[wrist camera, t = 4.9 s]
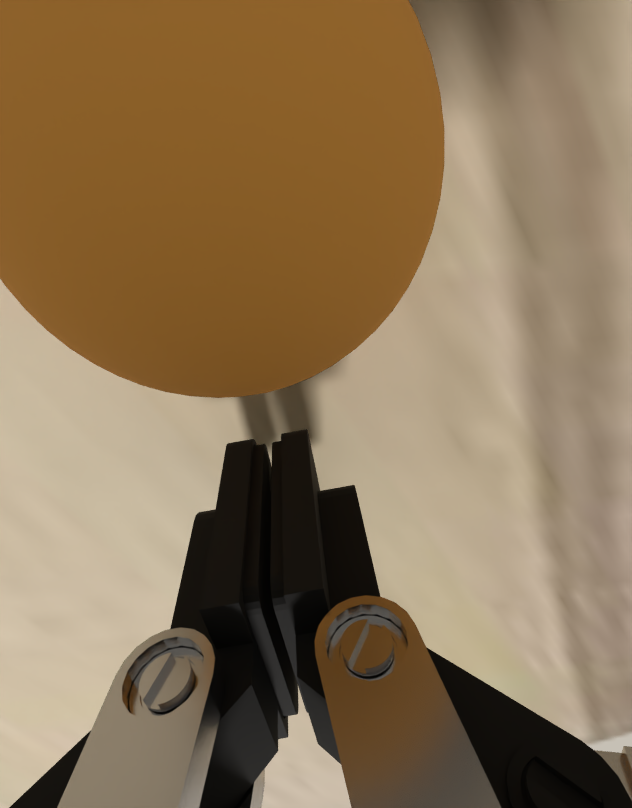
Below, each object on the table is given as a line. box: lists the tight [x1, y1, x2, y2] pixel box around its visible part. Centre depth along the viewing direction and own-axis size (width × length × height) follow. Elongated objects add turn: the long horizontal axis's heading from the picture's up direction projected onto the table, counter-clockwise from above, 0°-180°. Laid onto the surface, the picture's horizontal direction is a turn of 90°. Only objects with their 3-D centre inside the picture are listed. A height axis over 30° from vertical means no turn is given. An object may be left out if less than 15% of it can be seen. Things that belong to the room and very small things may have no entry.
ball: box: [0, 0, 444, 398], centre depth 6 cm, size 6×6×6 cm
